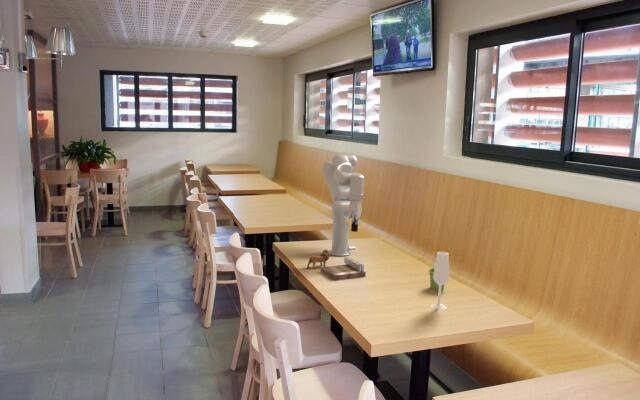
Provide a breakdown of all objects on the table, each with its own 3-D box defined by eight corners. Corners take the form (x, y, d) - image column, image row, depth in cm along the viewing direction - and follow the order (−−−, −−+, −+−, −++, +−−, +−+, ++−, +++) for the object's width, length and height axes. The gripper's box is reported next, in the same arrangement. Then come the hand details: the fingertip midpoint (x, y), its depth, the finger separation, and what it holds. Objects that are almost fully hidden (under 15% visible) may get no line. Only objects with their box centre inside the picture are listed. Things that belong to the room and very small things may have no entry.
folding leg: (364, 271, 258) (364, 265, 258) (360, 271, 257) (360, 265, 257) (348, 262, 273) (348, 257, 272) (344, 263, 271) (344, 257, 271)
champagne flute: (449, 309, 218) (454, 255, 214) (435, 310, 216) (439, 255, 212) (441, 303, 224) (445, 250, 220) (427, 304, 222) (431, 251, 218)
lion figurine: (325, 264, 278) (325, 248, 277) (331, 266, 274) (332, 250, 273) (304, 268, 269) (304, 251, 268) (310, 270, 265) (310, 254, 264)
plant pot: (448, 286, 248) (449, 269, 246) (446, 292, 239) (447, 275, 238) (428, 284, 251) (429, 267, 249) (426, 289, 242) (427, 272, 241)
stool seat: (350, 268, 272) (350, 263, 272) (365, 276, 259) (365, 271, 258) (320, 271, 264) (320, 267, 263) (334, 280, 251) (334, 275, 250)
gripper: (352, 195, 280) (351, 227, 283) (345, 199, 266) (344, 233, 269) (366, 196, 278) (364, 229, 281) (359, 200, 264) (357, 234, 267)
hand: (354, 231), depth 275 cm, fingers closed
